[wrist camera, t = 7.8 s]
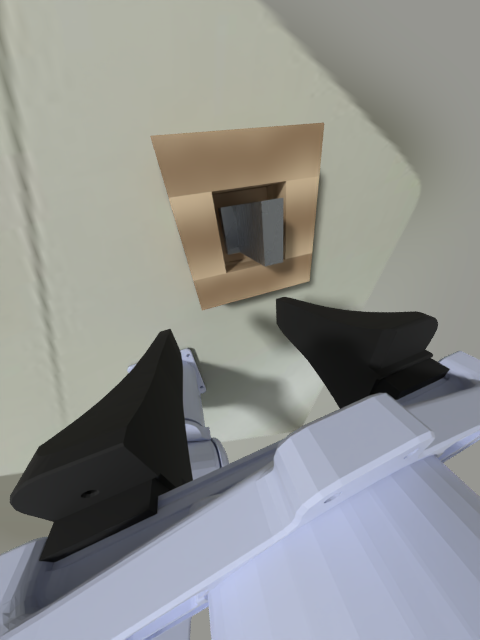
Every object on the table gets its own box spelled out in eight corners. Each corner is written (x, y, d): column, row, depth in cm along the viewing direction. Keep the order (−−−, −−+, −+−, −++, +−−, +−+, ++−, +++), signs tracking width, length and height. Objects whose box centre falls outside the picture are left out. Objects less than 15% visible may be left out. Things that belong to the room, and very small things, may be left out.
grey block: (260, 245, 19) (297, 258, 13) (225, 252, 18) (249, 270, 12) (258, 201, 17) (300, 194, 11) (218, 208, 16) (242, 204, 10)
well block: (289, 271, 22) (309, 281, 19) (197, 294, 20) (202, 310, 17) (293, 141, 16) (324, 122, 12) (156, 154, 13) (150, 135, 10)
